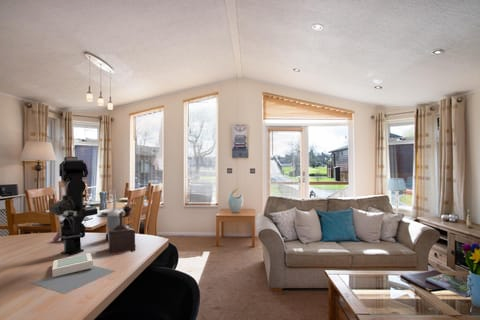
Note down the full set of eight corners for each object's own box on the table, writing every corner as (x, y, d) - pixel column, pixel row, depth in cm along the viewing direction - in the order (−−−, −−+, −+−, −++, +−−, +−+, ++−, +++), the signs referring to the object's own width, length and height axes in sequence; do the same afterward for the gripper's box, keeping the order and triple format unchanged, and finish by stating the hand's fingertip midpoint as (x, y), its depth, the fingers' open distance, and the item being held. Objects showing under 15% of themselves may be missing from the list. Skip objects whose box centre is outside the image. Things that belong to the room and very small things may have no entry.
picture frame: (52, 277, 92) (54, 267, 103) (93, 267, 98) (90, 259, 109) (52, 269, 92) (53, 260, 103) (92, 259, 98) (90, 252, 109)
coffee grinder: (137, 250, 121) (136, 209, 121) (109, 255, 115) (109, 212, 115) (132, 241, 134) (131, 204, 134) (107, 245, 129) (106, 207, 129)
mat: (31, 285, 88) (31, 283, 88) (84, 265, 104) (84, 263, 104) (64, 296, 81) (64, 293, 81) (115, 273, 97) (115, 270, 97)
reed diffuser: (125, 236, 144) (124, 188, 144) (121, 240, 136) (120, 190, 136) (109, 236, 143) (108, 188, 143) (103, 241, 135) (102, 190, 135)
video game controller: (76, 243, 137) (80, 229, 140) (70, 242, 133) (74, 227, 136) (57, 243, 138) (61, 229, 141) (51, 241, 134) (55, 227, 137)
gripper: (37, 193, 103) (37, 235, 103) (69, 196, 95) (70, 241, 95) (66, 190, 113) (67, 228, 113) (98, 192, 105) (98, 233, 105)
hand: (75, 232), depth 106 cm, fingers closed
